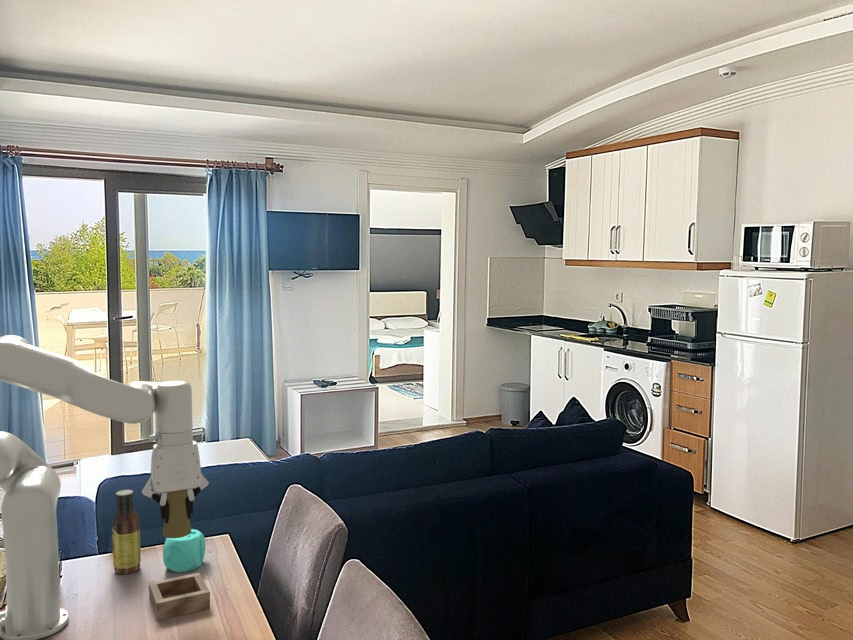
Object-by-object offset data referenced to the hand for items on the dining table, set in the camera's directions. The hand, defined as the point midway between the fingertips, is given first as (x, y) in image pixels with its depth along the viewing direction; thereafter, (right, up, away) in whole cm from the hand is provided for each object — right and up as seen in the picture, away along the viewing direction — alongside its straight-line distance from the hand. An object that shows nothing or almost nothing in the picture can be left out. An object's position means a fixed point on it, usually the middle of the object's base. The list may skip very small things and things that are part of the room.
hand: (176, 518), depth 153 cm
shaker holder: (0, -19, +1) cm, 19 cm away
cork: (0, -3, 0) cm, 3 cm away
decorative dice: (-5, -18, +21) cm, 28 cm away
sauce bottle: (-19, -18, +18) cm, 32 cm away
